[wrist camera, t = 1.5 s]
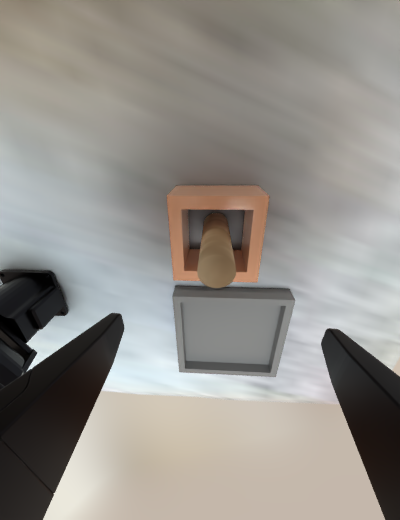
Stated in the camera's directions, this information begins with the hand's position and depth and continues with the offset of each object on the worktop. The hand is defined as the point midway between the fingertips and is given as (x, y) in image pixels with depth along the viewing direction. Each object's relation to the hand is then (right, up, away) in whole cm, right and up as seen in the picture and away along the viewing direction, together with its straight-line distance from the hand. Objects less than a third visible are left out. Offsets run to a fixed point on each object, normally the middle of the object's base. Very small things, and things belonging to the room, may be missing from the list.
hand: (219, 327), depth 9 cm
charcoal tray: (+3, -6, +18) cm, 19 cm away
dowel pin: (+1, +6, +12) cm, 13 cm away
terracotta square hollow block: (+1, +6, +12) cm, 13 cm away
